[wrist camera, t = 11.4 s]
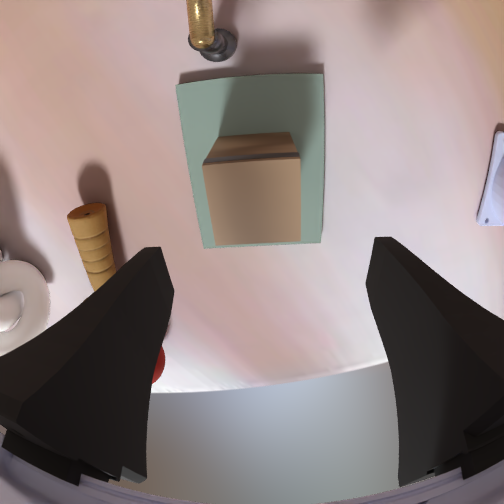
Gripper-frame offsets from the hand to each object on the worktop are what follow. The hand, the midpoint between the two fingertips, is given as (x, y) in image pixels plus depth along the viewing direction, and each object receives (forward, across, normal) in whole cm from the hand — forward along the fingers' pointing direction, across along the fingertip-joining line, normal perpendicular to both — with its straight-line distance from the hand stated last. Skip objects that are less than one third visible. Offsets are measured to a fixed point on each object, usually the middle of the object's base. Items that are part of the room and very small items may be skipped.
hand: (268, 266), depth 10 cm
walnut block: (+9, 0, 0) cm, 9 cm away
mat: (+9, +1, 0) cm, 9 cm away
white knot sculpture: (+10, +27, +7) cm, 30 cm away
